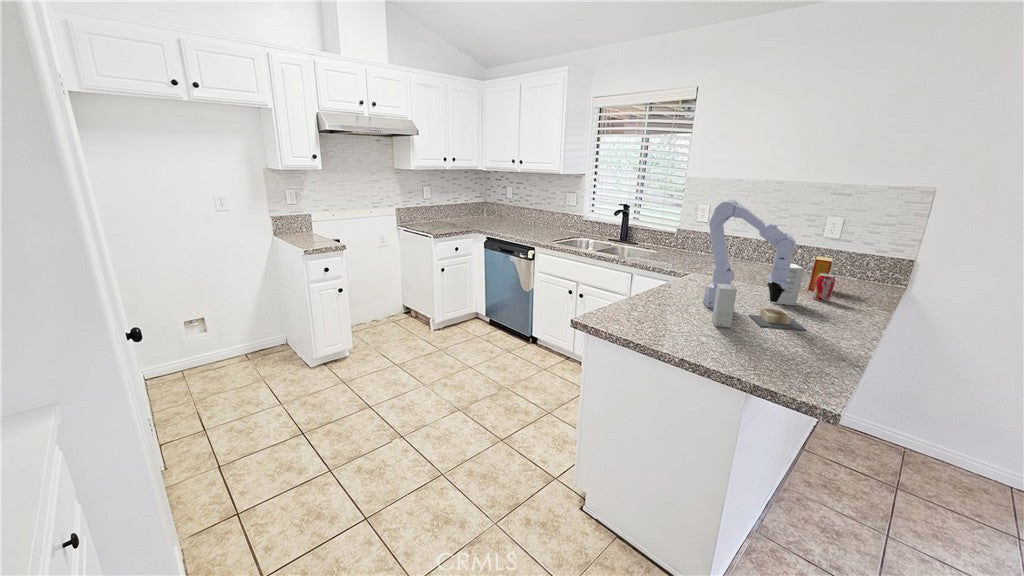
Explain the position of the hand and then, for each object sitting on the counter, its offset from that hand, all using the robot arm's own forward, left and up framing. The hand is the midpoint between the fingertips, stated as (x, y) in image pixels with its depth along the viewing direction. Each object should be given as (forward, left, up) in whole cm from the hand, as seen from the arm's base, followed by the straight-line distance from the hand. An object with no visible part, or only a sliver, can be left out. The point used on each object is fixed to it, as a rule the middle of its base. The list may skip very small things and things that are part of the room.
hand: (773, 301), depth 171 cm
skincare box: (-22, -12, -7) cm, 26 cm away
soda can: (+33, +32, -7) cm, 46 cm away
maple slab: (0, +1, -5) cm, 5 cm away
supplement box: (+13, +24, -7) cm, 28 cm away
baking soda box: (+40, +51, -7) cm, 65 cm away
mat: (0, -6, -7) cm, 9 cm away
